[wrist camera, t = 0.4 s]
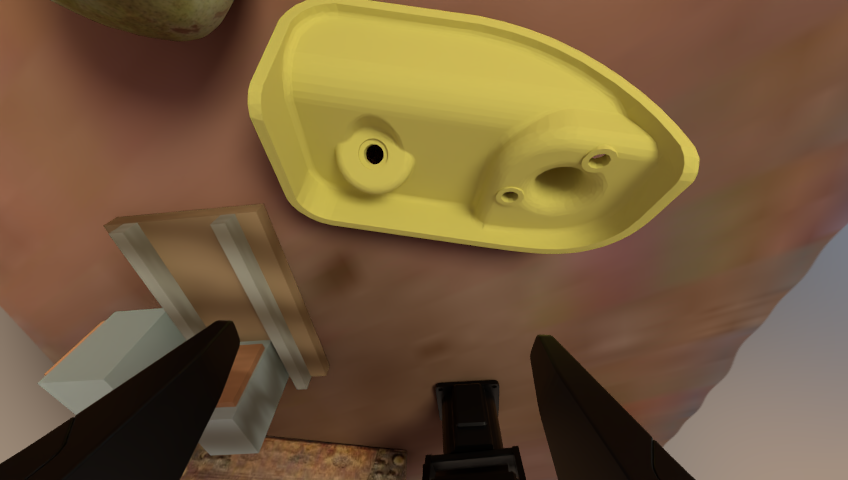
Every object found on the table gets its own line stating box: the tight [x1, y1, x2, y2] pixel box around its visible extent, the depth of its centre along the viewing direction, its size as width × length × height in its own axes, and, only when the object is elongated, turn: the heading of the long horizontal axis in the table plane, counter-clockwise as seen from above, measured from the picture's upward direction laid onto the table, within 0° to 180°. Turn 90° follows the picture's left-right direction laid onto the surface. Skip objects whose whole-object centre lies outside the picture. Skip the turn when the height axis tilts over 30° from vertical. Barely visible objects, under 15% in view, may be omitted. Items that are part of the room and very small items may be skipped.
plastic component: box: [248, 0, 699, 254], centre depth 19 cm, size 20×7×10 cm
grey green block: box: [38, 308, 187, 415], centre depth 27 cm, size 6×4×7 cm
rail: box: [104, 204, 329, 455], centre depth 25 cm, size 18×11×8 cm, turn 6°
